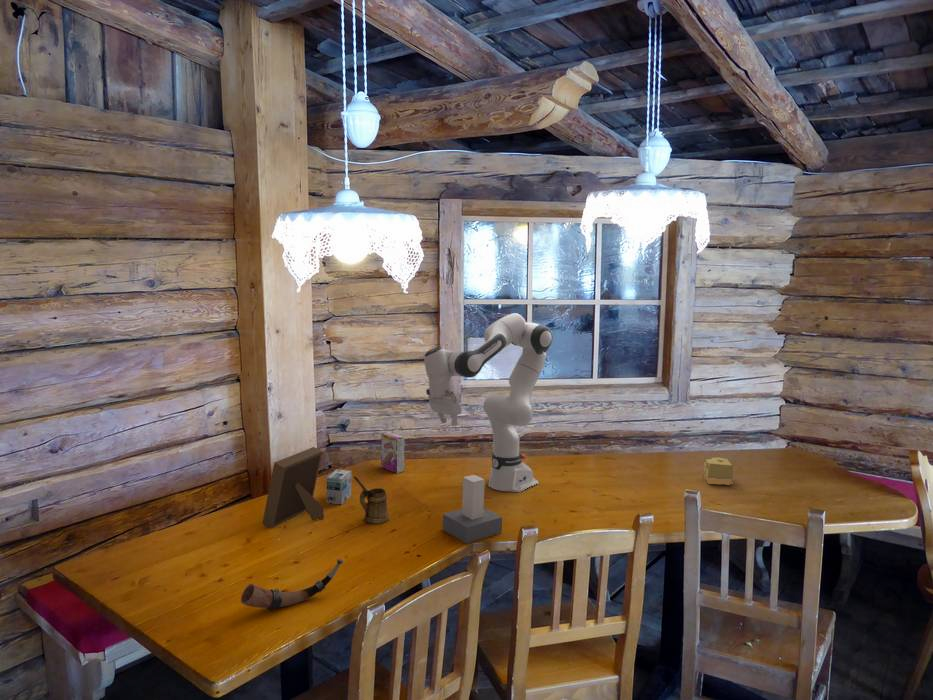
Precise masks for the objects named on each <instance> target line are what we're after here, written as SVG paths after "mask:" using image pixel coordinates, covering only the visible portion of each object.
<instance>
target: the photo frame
mask: <svg viewBox="0 0 933 700" xmlns="http://www.w3.org/2000/svg"><path fill="white" fill-rule="evenodd" d="M322 456H323V450H321V449H319V448H316V447H315V446H312V447H310V448H308V449H305V450H303V451H299V452H298V453H295V454H292V455H290V456H287V457H285V458H282V459H280V460H277V461H275V462H274V463H273V467H272V472H271V477H270V481H269V482H270V483H269V488H268V492H267V497H266V502H265V503H266V504H265V507H264V511H263V512H264V513H263V517H262V522H261V524H262V525H264V526H266V527H267V528H269V529H270V530H272V529H274V528H276V527H278V526H280V525H282V524H284V523H286V522H287V520H288V521H290V520H292V519H293V517H294V518H295V517H298V516H299V515H301V514H303V513H305V512H307V513H308V515H309V517H310V520H311V521H312V520H315V521H318V520H317V519H320V520H324V519H325V514H324V507H323V505H321V504H320V503H319V502H318V500H316V499H315V497H314V494H315V490H316V489H315V488H316V486H317V485H316V484H317V480H318V475H319V469H320V467H321V466H320V465H321V461H322ZM306 510H307V511H306ZM304 511H305V512H304ZM302 512H303V513H302ZM300 513H301V514H300ZM298 514H299V515H298ZM291 518H292V519H291ZM323 518H324V519H323ZM289 519H290V520H289ZM285 521H286V522H285ZM283 522H284V523H283ZM281 523H282V524H281ZM279 524H280V525H279ZM277 525H278V526H277Z"/></svg>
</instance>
